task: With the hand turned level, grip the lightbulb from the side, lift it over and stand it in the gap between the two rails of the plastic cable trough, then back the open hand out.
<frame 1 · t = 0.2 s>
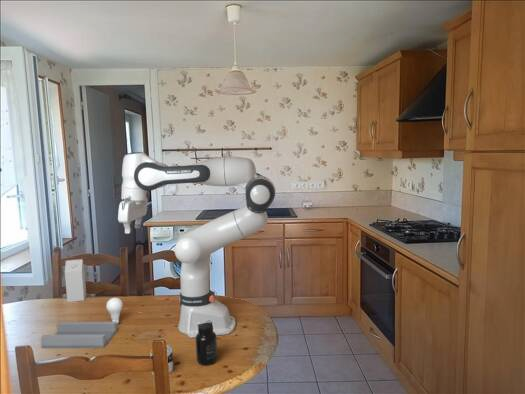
hand: (132, 230, 142), 39 cm above the table, tool pointing down, fingers open, 8 cm apart
trough: (81, 339, 137), on the table
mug: (164, 368, 119), on the table
supplement bottle: (206, 360, 122), on the table
milk carton: (77, 299, 175), on the table
lightbulb: (115, 324, 149), on the table
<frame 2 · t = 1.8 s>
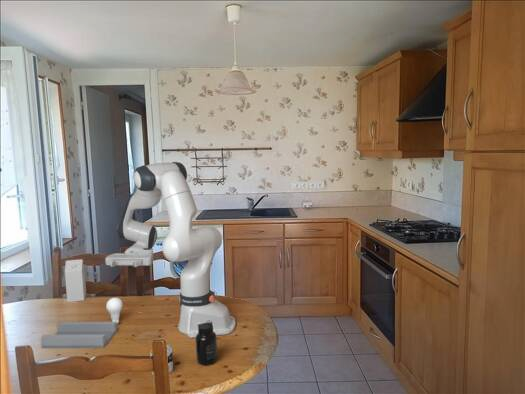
hand: (123, 265, 158), 21 cm above the table, tool horizontal, fingers open, 8 cm apart
nothing on the table moved.
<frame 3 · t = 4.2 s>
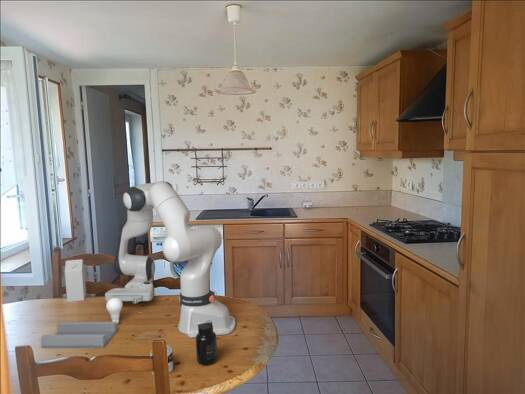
hand: (122, 302, 156), 6 cm above the table, tool horizontal, fingers open, 8 cm apart
nothing on the table moved.
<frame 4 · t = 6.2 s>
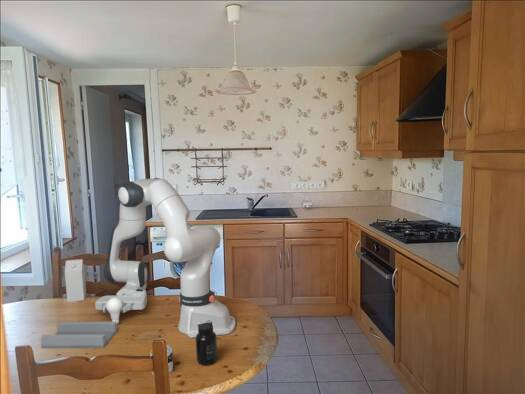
hand: (113, 310, 147), 6 cm above the table, tool horizontal, fingers closed on lightbulb, 6 cm apart
lightbulb: (115, 324, 149), on the table, touching gripper
everything else where it was.
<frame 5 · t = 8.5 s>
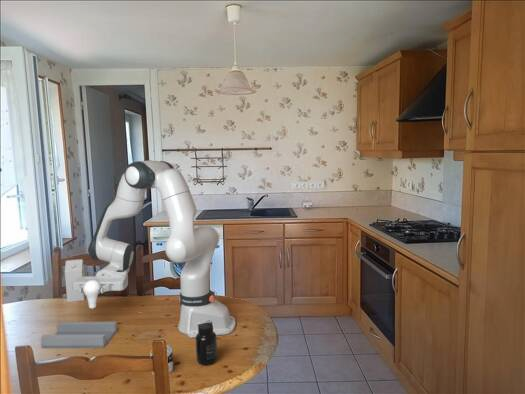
hand: (90, 291, 139), 17 cm above the table, tool horizontal, fingers closed on lightbulb, 6 cm apart
lightbulb: (92, 309, 140), point 10 cm above the table, touching gripper
everything else where it was.
when the fingers open (8 cm above the table, at t = 11.1 s): lightbulb stays where it is, resting on trough.
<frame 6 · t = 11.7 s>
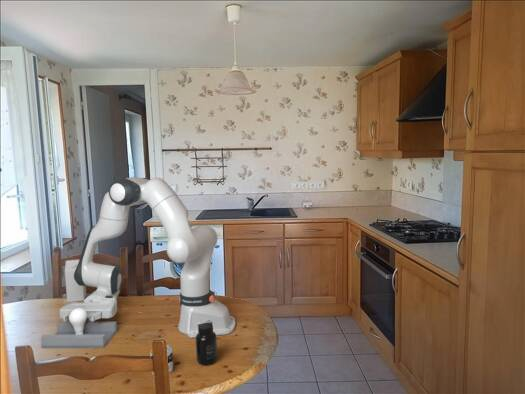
hand: (78, 320, 135), 8 cm above the table, tool horizontal, fingers open, 8 cm apart
lightbulb: (79, 337, 137), point 1 cm above the table, touching trough
everything else where it was.
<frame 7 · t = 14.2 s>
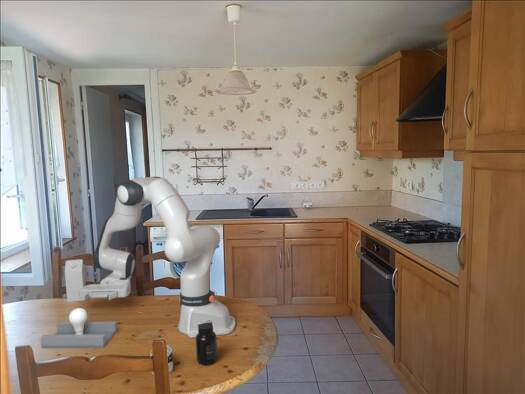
hand: (96, 298, 149), 10 cm above the table, tool horizontal, fingers open, 8 cm apart
nothing on the table moved.
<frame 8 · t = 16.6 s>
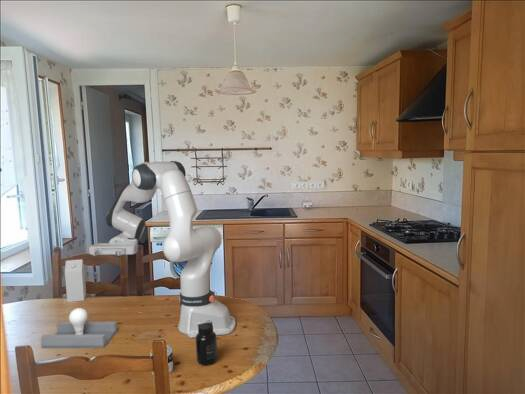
hand: (106, 253, 157), 26 cm above the table, tool horizontal, fingers open, 8 cm apart
nothing on the table moved.
at the end: lightbulb inside the target area on the trough (0.4 cm from its centre), point 0.8 cm above the trough's base; lightbulb tilted 0°; the gripper is holding nothing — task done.
